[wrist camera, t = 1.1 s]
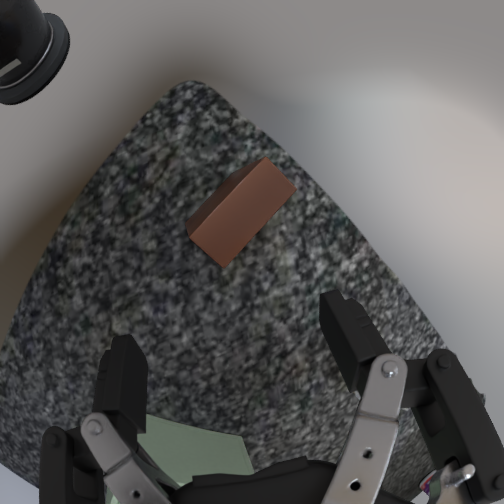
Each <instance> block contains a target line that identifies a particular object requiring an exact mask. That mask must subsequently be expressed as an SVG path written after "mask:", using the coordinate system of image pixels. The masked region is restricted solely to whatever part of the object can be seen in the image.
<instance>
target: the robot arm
mask: <svg viewBox="0 0 504 504" xmlns="http://www.w3.org/2000/svg"><path fill="white" fill-rule="evenodd" d="M53 42H54V29H53V27H52V25H51V24H50V22H49V21H47V19H46V18H45V16H44V15H43V13H42V12H41V10H40V8H39V7H38V5H37V4H36V2H35V1H34V0H0V89H10V88H13V87H15V86H17V85H19V84H21V83H22V82H24V81H25V80H27V79H28V78H29V77H30V76H31V75H33V74H34V73H35V72H36V71H37V69H38V68H39V67H40V66H41V65H42V63H43V62H44V61H45V59H46V58H47V56H48V54H49V52H50V50H51V48H52V45H53ZM319 321H320V326H321V330H322V332H323V334H324V337H325V339H326V341H327V343H328V345H329V347H330V350H331V352H332V354H333V356H334V358H335V361H336V363H337V365H338V367H339V370H340V372H341V374H342V376H343V378H344V381H345V383H346V385H347V387H348V390H349V392H350V393H352V392H355V391H358V392H359V395H360V397H361V398H360V401H359V404H358V407H357V410H356V413H355V416H354V419H353V422H352V425H351V427H350V430H349V433H348V436H347V438H346V441H345V443H344V446H343V448H342V450H341V453H340V455H339V458H338V460H337V463H336V464H334V463H331V462H327V461H321V460H307V457H306V456H302V457H299V458H295V459H291V460H287V461H283V462H278V463H276V464H274V465H272V466H270V467H267V468H265V469H263V470H261V471H258V472H256V473H254V474H251V475H237V474H225V473H215V474H205V475H194V476H192V480H193V481H191V482H189V483H187V484H185V485H183V486H180V485H179V484H177V483H176V482H175V481H174V480H173V479H172V478H171V477H170V476H168V475H167V474H166V473H165V472H164V471H163V470H162V469H161V468H160V467H159V466H158V465H157V464H156V462H155V461H154V460H153V459H152V458H151V457H150V455H149V454H148V453H147V452H146V451H145V449H144V448H143V447H142V446H141V445H140V443H139V442H138V441H137V434H146V403H147V377H148V364H147V360H146V357H145V355H144V353H143V352H142V350H141V349H140V347H139V346H138V344H137V343H136V341H135V340H134V338H133V337H132V335H130V334H129V335H122V336H116V337H114V338H113V340H112V344H111V350H106V351H105V353H104V355H103V356H102V358H101V360H100V365H99V370H98V371H99V372H98V376H97V382H96V388H95V395H94V402H93V409H92V413H91V414H89V415H87V416H86V417H85V418H84V420H83V421H82V424H81V426H79V427H76V428H73V429H70V430H67V431H64V430H63V429H61V428H60V427H58V426H52V427H50V428H48V429H47V430H46V431H45V433H44V435H43V437H42V446H41V458H40V477H39V504H105V496H104V482H105V483H106V485H107V486H108V488H109V489H110V491H111V492H112V493H113V495H114V496H115V497H116V499H117V500H118V501H119V503H120V504H414V503H412V502H410V501H407V500H405V499H403V498H401V497H398V496H396V495H394V494H392V493H390V492H388V491H386V490H384V489H382V488H380V486H381V483H382V481H383V478H384V475H385V472H386V469H387V466H388V463H389V460H390V457H391V453H392V450H393V446H394V443H395V439H396V436H397V432H398V428H399V421H398V415H399V411H400V409H402V408H411V410H412V412H413V414H414V417H415V419H416V421H417V424H418V426H419V428H420V431H421V433H422V436H423V438H424V440H425V443H426V445H427V448H428V450H429V453H430V456H431V458H432V461H433V463H434V466H435V469H436V472H435V473H434V474H433V476H432V477H431V479H430V482H429V491H430V497H429V501H428V503H427V504H490V503H493V502H495V501H498V500H501V499H503V498H504V448H503V445H502V443H501V440H500V438H499V436H498V434H497V432H496V430H495V427H494V425H493V423H492V421H491V419H490V417H489V415H488V413H487V412H486V409H485V407H484V405H483V403H482V401H481V399H480V398H479V396H478V394H477V392H476V390H475V388H474V387H473V385H472V383H471V381H470V379H469V378H468V376H467V374H466V373H465V371H464V369H463V367H462V366H461V364H460V362H459V361H458V359H457V357H456V356H455V355H454V354H453V353H452V352H451V351H449V350H447V349H436V350H434V351H432V352H431V353H430V354H429V356H428V358H424V359H415V360H404V359H402V358H401V357H399V356H398V355H395V354H393V353H392V352H391V351H390V350H389V348H388V347H387V345H386V343H385V342H384V340H383V338H382V337H381V335H380V333H379V332H378V330H377V329H376V327H375V325H374V324H373V323H372V320H371V319H370V317H369V316H368V314H367V313H366V311H365V309H364V308H363V306H362V305H361V304H360V303H358V302H357V301H355V300H354V299H353V298H350V299H347V300H345V299H344V298H343V296H342V294H341V293H340V291H339V290H338V289H336V290H333V291H329V292H325V293H322V294H320V304H319ZM103 471H104V473H105V475H103Z"/></svg>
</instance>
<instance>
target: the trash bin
mask: <svg viewBox="0 0 504 504" xmlns="http://www.w3.org/2000/svg"><path fill="white" fill-rule="evenodd" d="M137 441H138V442H139V443H140V445H141V446H142V447H143V448H144V449H145V451H146V452H147V453H148V454H149V455H150V457H151V458H152V459H153V460H154V461H155V462H156V464H157V465H158V466H159V467H160V468H161V469H162V470H163V471H164V472H165V473H166V474H167V475H168V476H170V477H171V478H172V479H173V480H174V481H175V482H176V483H177V484H179V485H180V486H183V485H185V484H187V483H189V482H191V481H193V480H192V476H194V475H205V474H215V473H225V474H237V475H251V474H254V473H255V472H254V470H253V467H252V464H251V461H250V459H249V456H248V453H247V450H246V448H245V445H244V442H243V439H242V436H236V435H231V434H225V433H220V432H215V431H210V430H205V429H201V428H196V427H192V426H188V425H184V424H180V423H176V422H173V421H169V420H165V419H162V418H158V417H155V416H152V415H148V414H146V434H137ZM106 504H120V503H119V501H118V500H117V499H116V497H115V496H114V495H113V493H112V492H111V491H110V489H109V488H108V486H107V496H106Z"/></svg>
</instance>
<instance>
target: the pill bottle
mask: <svg viewBox="0 0 504 504" xmlns="http://www.w3.org/2000/svg"><path fill="white" fill-rule="evenodd" d="M435 472H436V470H434V471H432V472H431V473H430V474H428V475H427V476H426V477H425V478H424V479H423V480H422V481H421V483H420V488H421V489H422V490H423V491H424V492H425V493H426V494H427V495H428V496H429V497H430V491H429V482H430V479H431V477H432V476H433V474H434V473H435Z"/></svg>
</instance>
